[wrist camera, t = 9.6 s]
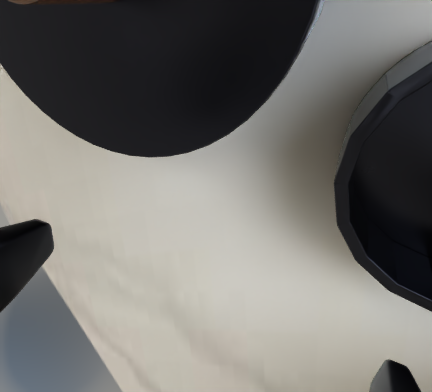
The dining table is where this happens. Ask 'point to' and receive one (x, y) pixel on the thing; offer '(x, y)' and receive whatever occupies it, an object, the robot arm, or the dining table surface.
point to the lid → (151, 65)
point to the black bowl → (391, 180)
